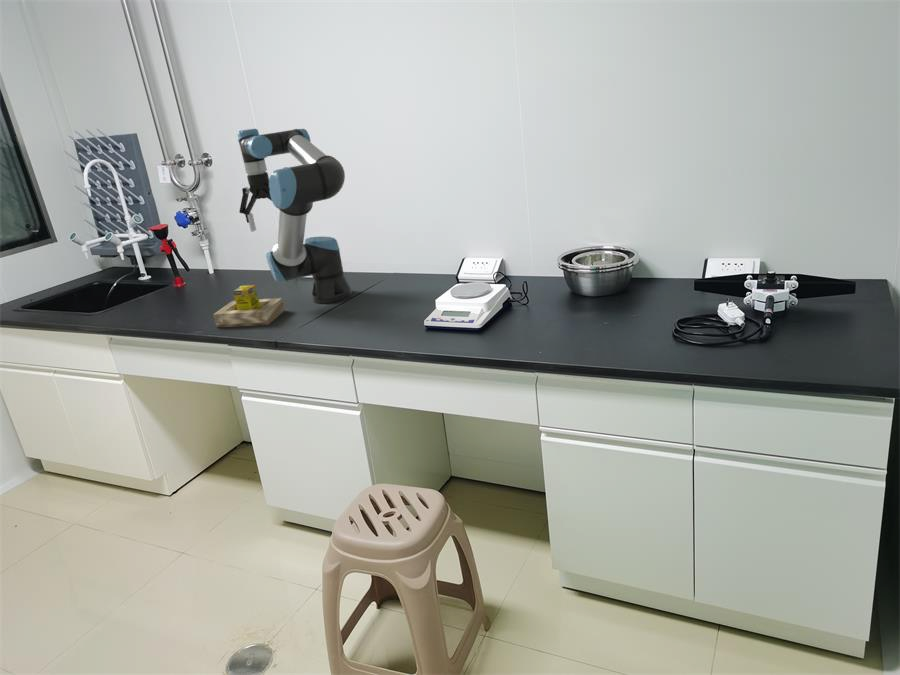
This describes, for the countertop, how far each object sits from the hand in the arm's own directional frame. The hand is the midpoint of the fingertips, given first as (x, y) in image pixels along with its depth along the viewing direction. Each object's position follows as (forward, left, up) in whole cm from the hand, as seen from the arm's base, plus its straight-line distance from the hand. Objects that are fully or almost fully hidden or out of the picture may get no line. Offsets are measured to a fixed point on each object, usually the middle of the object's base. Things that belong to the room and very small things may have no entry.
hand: (269, 229), depth 245 cm
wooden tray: (+2, +25, -27) cm, 37 cm away
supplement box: (+2, +25, -26) cm, 36 cm away
